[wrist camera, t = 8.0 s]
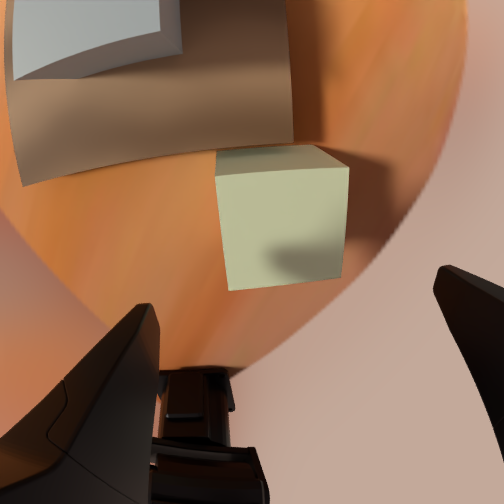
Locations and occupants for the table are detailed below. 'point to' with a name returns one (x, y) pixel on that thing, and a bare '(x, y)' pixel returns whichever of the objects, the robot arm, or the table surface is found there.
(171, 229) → the table surface
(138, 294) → the table surface
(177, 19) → the slate block
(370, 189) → the table surface
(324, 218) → the sage block
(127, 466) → the robot arm
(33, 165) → the walnut base
